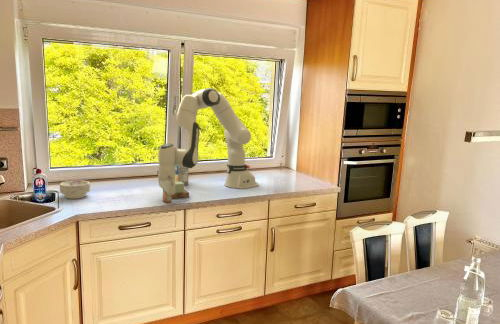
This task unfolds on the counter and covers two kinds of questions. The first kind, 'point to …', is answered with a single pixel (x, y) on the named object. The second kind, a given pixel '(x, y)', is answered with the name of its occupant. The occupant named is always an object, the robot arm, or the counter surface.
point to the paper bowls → (75, 188)
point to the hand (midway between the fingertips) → (166, 198)
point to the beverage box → (181, 174)
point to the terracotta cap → (165, 198)
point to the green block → (179, 187)
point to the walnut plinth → (180, 194)
